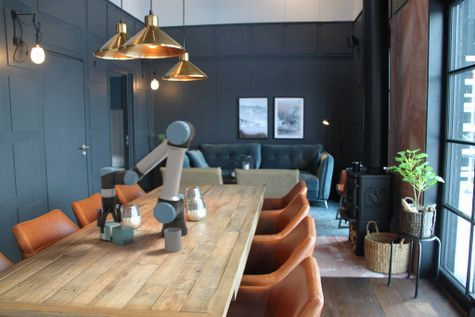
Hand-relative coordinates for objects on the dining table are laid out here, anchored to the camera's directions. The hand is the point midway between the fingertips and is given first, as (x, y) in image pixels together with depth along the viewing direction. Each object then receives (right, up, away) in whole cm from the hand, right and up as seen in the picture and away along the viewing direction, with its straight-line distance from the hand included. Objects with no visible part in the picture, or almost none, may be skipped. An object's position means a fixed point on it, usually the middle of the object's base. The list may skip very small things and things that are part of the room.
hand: (110, 237), depth 219 cm
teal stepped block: (+5, -1, -3) cm, 6 cm away
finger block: (0, 0, 0) cm, 0 cm away
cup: (+37, -3, -18) cm, 42 cm away
